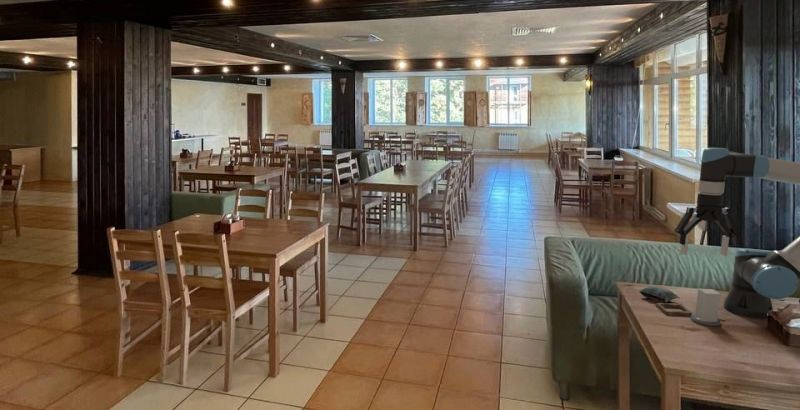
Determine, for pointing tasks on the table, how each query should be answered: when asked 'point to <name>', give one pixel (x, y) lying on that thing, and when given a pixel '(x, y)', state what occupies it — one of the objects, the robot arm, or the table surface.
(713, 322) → the grey disc
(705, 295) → the grey block
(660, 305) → the walnut holder
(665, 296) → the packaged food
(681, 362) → the table surface
